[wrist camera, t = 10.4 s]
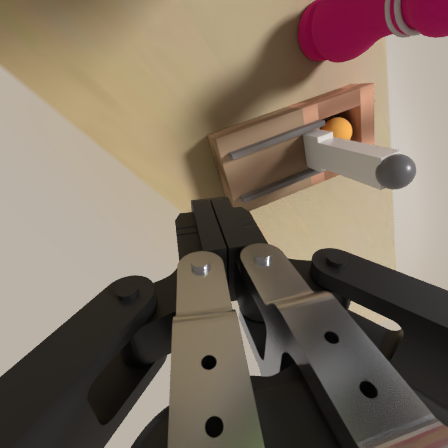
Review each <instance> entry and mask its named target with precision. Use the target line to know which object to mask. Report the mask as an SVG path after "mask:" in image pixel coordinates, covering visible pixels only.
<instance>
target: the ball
mask: <svg viewBox="0 0 448 448" xmlns="http://www.w3.org/2000/svg"><path fill="white" fill-rule="evenodd" d="M321 130H325V131H331V132H333V137H336V138H341V139H346V140H350V138H351V136H352V126H351V124H350V123H349V121H347V120H346V119H344V118H340V117H336V118H332V119H330V120H328V121H327V122H326V123H325V126H323V127H322V129H321Z"/></svg>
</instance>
